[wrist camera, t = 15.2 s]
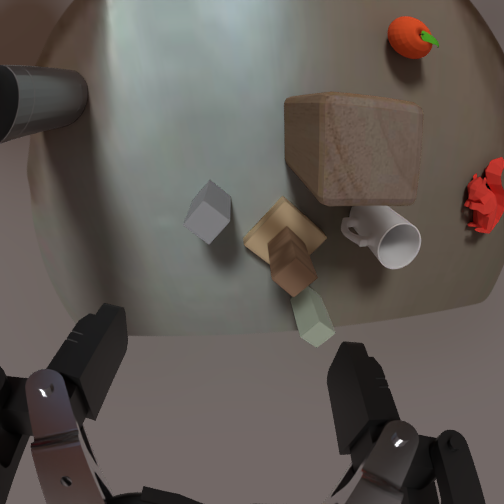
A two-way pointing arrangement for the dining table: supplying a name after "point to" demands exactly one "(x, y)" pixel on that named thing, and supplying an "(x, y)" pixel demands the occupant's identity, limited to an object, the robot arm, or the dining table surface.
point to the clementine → (410, 37)
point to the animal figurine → (486, 197)
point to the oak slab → (277, 221)
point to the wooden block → (354, 147)
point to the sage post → (312, 317)
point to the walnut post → (290, 262)
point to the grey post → (208, 212)
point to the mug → (383, 234)
